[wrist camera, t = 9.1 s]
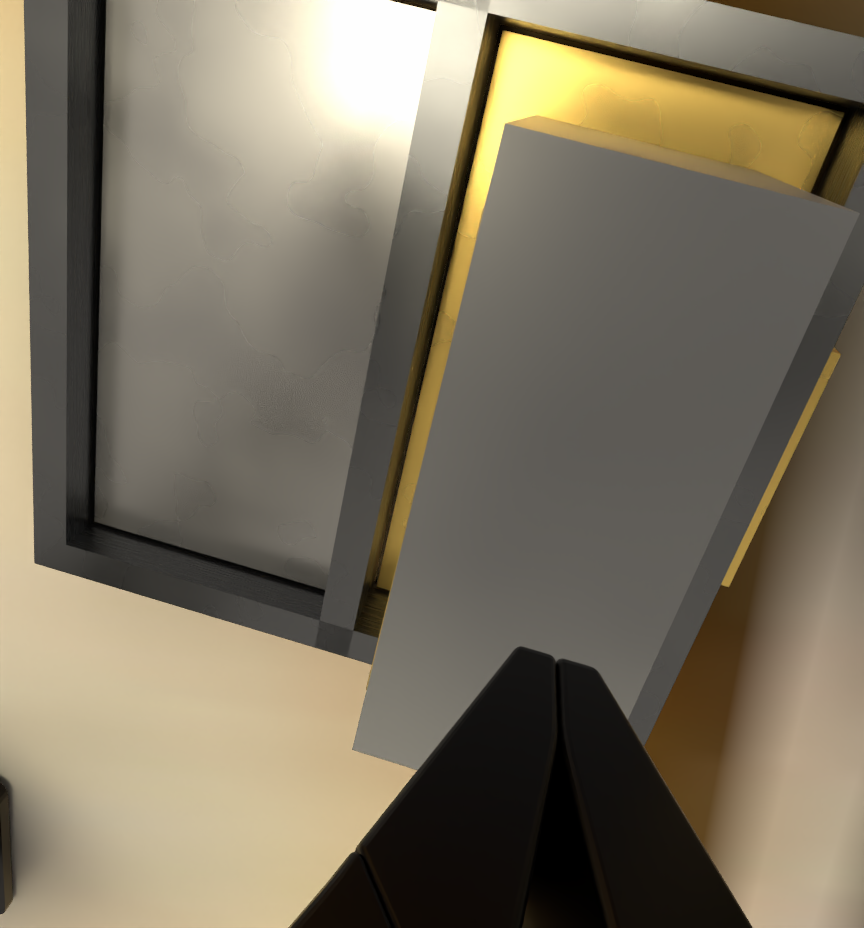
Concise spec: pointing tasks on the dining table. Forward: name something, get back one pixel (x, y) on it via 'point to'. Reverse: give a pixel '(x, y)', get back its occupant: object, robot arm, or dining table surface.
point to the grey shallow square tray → (345, 269)
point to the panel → (590, 414)
